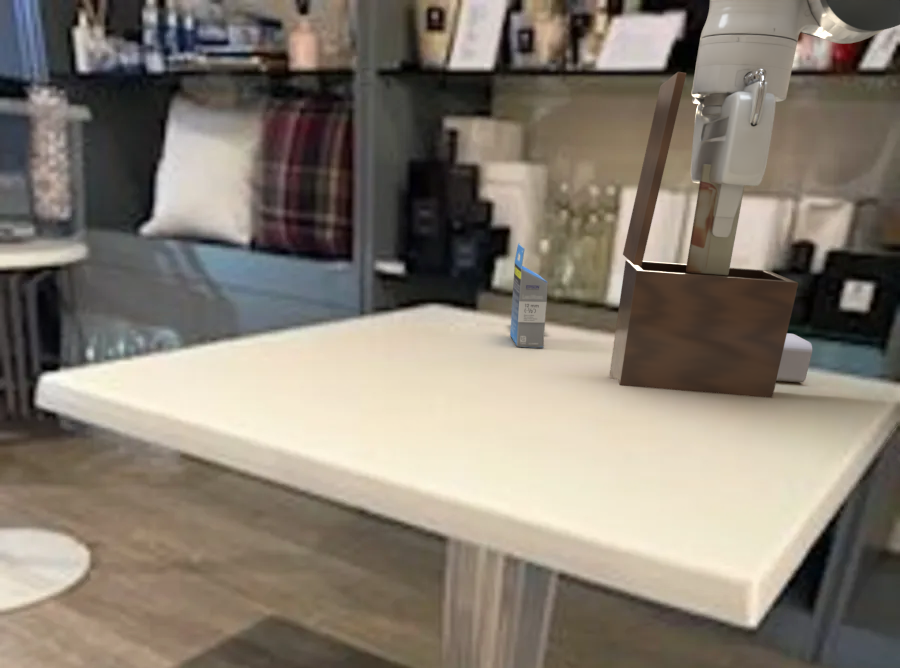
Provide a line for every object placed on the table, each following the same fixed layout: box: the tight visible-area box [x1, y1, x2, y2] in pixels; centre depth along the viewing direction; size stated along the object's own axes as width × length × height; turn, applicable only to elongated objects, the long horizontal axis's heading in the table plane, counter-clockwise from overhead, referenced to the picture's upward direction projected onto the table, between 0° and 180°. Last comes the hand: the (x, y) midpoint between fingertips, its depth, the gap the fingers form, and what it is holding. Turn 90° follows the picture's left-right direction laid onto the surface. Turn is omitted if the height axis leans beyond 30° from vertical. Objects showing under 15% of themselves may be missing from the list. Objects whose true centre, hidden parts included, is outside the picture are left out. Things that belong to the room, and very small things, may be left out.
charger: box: [776, 332, 813, 383], centre depth 108 cm, size 5×9×15 cm
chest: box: [608, 259, 799, 399], centre depth 94 cm, size 16×13×13 cm
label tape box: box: [509, 242, 549, 349], centre depth 117 cm, size 9×4×12 cm, turn 2°
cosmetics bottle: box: [686, 164, 746, 275], centre depth 89 cm, size 5×4×10 cm
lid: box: [622, 71, 687, 266], centre depth 87 cm, size 16×13×1 cm
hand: (713, 234), depth 89 cm, fingers closed on cosmetics bottle, 5 cm apart
